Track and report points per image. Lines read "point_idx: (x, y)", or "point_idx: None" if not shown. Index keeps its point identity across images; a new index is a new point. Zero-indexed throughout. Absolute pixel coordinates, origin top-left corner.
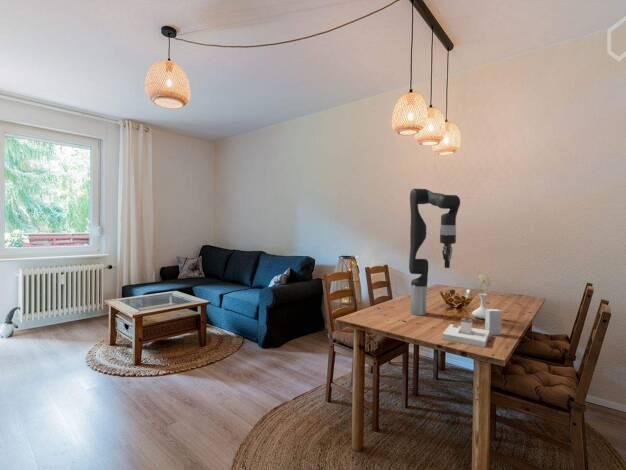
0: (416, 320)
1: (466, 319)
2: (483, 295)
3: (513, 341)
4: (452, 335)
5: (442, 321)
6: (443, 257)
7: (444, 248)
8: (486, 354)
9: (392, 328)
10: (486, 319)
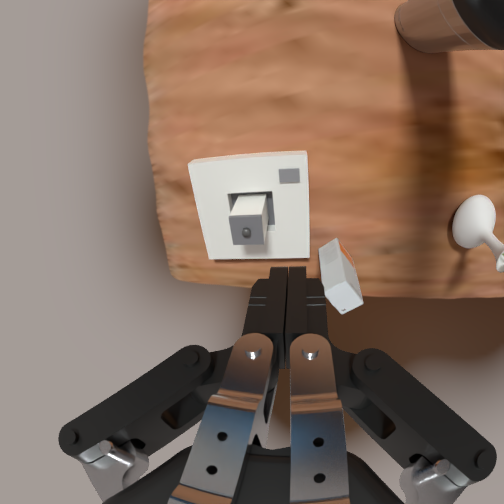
0: (330, 31)
1: (241, 232)
2: (496, 261)
3: None
4: (193, 190)
5: (380, 112)
6: (152, 372)
7: (107, 500)
8: (175, 257)
9: (179, 15)
10: (335, 263)
